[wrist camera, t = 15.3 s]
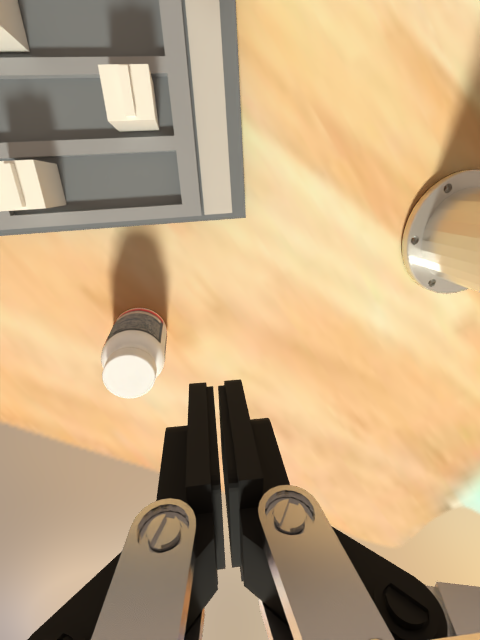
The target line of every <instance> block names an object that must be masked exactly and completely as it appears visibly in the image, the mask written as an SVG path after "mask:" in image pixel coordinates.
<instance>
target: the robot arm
mask: <svg viewBox="0 0 480 640" xmlns="http://www.w3.org/2000/svg"><path fill="white" fill-rule="evenodd" d="M402 256H403V261H404V265H405V267H406V270H407V272H408V274H409V275H410V276H411V278H412V279H413V280H414V281H415V282H416V283H417V284H418V285H420V286H421V287H423V288H426V289H428V290H430V291H433V292H436V293H443V294H450V293H457V292H461V291H464V290H467V289H471V290H474V291H477V292H480V170H465V171H461V172H457V173H453V174H451V175H449V176H447V177H445V178H443V179H441V180H440V181H439V182H437V183H436V184H435V185H433V186H432V187H431V188H430V189H429V190H428V191H427V192H426V193H425V194H424V195H423V196H422V197H421V198H420V200H419V201H418V203H417V204H416V205H415V207H414V208H413V210H412V212H411V214H410V216H409V218H408V221H407V224H406V227H405V230H404V234H403V240H402ZM218 391H219V410H220V429H221V448H222V462H223V473H224V484H225V495H226V506H227V517H228V528H229V539H230V550H231V561H232V567H240V571H241V579H242V581H244V586H245V587H246V588H248V589H249V590H250V591H251V592H252V593H253V594H255V596H257V597H258V600H259V607H260V611H261V614H262V618H263V621H264V625H265V628H266V632H267V635H268V639H269V640H480V587H476V586H468V585H459V584H450V583H442V582H436V585H435V587H432V586H425V585H424V584H423V583H422V582H420V581H419V580H418V579H416V578H415V577H414V576H412V575H410V574H409V573H407V572H406V571H404V570H402V569H401V568H399V567H397V566H396V565H394V564H392V563H391V562H389V561H388V560H386V559H384V558H383V557H381V556H379V555H378V554H376V553H375V552H373V551H371V550H369V549H368V548H366V547H365V546H363V545H361V544H360V543H358V542H357V541H355V540H353V539H352V538H350V537H348V536H347V535H345V534H343V533H342V532H340V531H338V530H337V529H335V528H334V527H332V526H331V525H330V523H329V521H328V520H327V518H326V516H325V514H324V512H323V511H322V509H321V507H320V505H319V503H318V502H317V501H316V499H315V498H314V497H313V496H312V495H311V494H310V493H308V492H307V491H306V490H304V489H302V488H299V487H297V486H292V485H290V484H289V480H288V477H287V474H286V471H285V467H284V464H283V461H282V458H281V454H280V451H279V448H278V445H277V441H276V438H275V435H274V432H273V429H272V425H271V422H270V420H269V418H263V419H252V420H250V417H249V413H248V408H247V404H246V399H245V395H244V390H243V386H242V382H241V380H230V381H224V386H218ZM218 569H225V552H224V535H223V517H222V500H221V483H220V470H219V457H218V444H217V431H216V418H215V406H214V393H213V386H212V387H206V383H194V384H189V406H188V426H178V427H168V428H166V431H165V438H164V446H163V454H162V461H161V469H160V477H159V485H158V493H157V500H156V502H153V503H151V504H149V505H148V506H147V507H145V508H144V509H142V510H141V512H140V513H139V514H138V515H137V516H136V517H135V519H134V521H133V523H132V525H131V527H130V530H129V533H128V536H127V539H126V542H125V545H124V547H123V550H122V552H121V553H120V554H119V555H117V556H116V557H115V558H114V559H113V560H112V561H111V562H110V563H109V564H108V565H107V566H106V567H105V568H103V569H102V570H101V571H100V572H99V573H98V574H97V575H96V576H95V577H94V578H93V579H92V580H90V582H88V583H87V584H86V585H85V586H84V587H83V588H82V589H81V590H80V591H79V592H78V593H76V594H75V595H74V596H73V597H72V598H71V599H70V600H69V601H68V602H67V603H66V604H65V605H63V606H62V607H61V608H60V609H59V610H58V611H57V612H56V613H55V614H54V615H53V616H52V617H50V619H48V620H47V621H46V622H45V623H44V624H43V625H42V626H41V627H40V628H39V629H38V630H37V631H35V632H34V633H33V634H32V635H31V636H30V638H29V639H28V640H202V637H203V626H204V618H205V606H206V605H207V603H208V602H209V601H210V599H211V598H212V597H213V595H214V594H215V592H216V591H217V590H218V587H217V585H218V577H217V570H218Z"/></svg>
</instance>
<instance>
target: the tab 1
mask: <svg viewBox="0 0 480 640" xmlns="http://www.w3.org/2000/svg"><path fill="white" fill-rule="evenodd" d="M0 52H30V50H29V46H28V42H27V38H26V34H25V29H24V25H23V21H22V17H21V13H20V8H19V4H18V0H0Z"/></svg>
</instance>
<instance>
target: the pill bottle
mask: <svg viewBox="0 0 480 640" xmlns="http://www.w3.org/2000/svg"><path fill="white" fill-rule="evenodd" d="M166 341H167V328H166V325H165V323H164V321H163V319H162V318H161V317H160V316H159V315H158V314H157V313H156V312H154V311H152V310H150V309H146V308H133V309H129V310H127V311H125V312H123V313H122V314H121V315H120V316H119V317H118V318H117V320H116V321H115V323H114V325H113V328H112V330H111V332H110V334H109V336H108V338H107V340H106V342H105V344H104V347H103V350H102V354H101V362H102V366H103V368H104V369H103V373H102V377H103V382H104V384H105V386H106V388H107V389H108V390H109V391H110V392H111V393H113V394H114V395H116V396H119V397H122V398H136V397H140V396H142V395H144V394H146V393H147V392H148V391H149V390H150V389H151V388H152V386H153V385H154V382H155V378H156V377H157V376H158V375H159V374H160V373H161V371H162V369H163V366H164V362H165V351H166Z"/></svg>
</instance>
